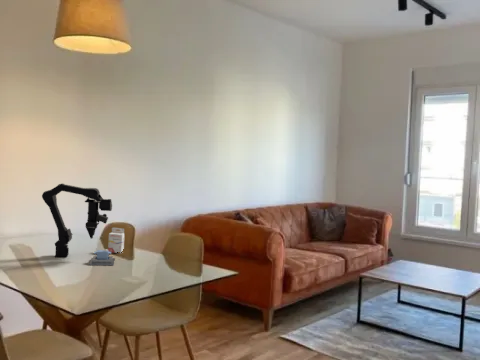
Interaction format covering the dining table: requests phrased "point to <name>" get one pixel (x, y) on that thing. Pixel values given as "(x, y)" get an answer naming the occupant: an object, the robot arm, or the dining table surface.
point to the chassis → (102, 261)
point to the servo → (102, 254)
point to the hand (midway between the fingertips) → (92, 236)
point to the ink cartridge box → (116, 240)
